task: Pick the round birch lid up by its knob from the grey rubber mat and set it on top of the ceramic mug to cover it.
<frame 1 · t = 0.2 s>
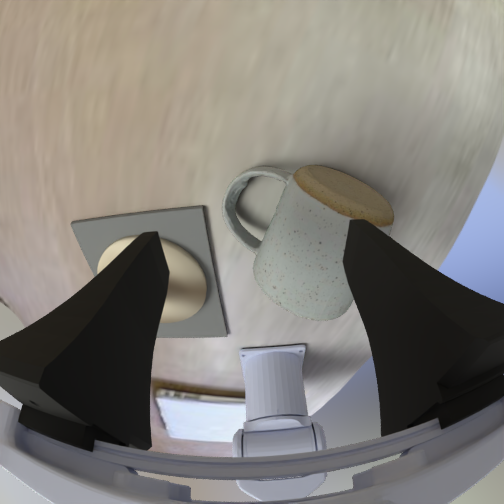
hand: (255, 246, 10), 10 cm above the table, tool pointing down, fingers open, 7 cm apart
lid: (151, 281, 24), resting on mat
mat: (155, 286, 25), on the table
ceramic mug: (294, 208, 21), on the table
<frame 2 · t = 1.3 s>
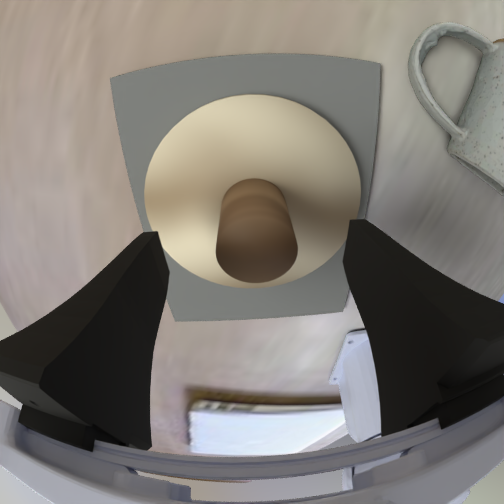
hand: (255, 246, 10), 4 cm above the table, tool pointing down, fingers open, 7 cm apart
lid: (253, 200, 13), resting on mat
mat: (253, 214, 14), on the table
ceramic mug: (468, 102, 10), on the table
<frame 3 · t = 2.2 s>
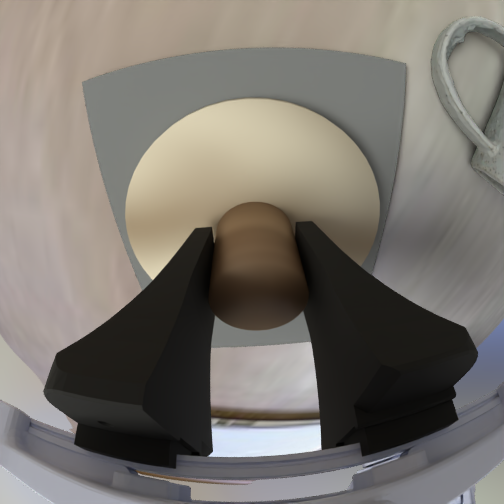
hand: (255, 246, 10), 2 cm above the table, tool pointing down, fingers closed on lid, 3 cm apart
lid: (253, 224, 12), resting on mat, touching gripper
mat: (254, 238, 12), on the table
ceramic mug: (492, 108, 8), on the table
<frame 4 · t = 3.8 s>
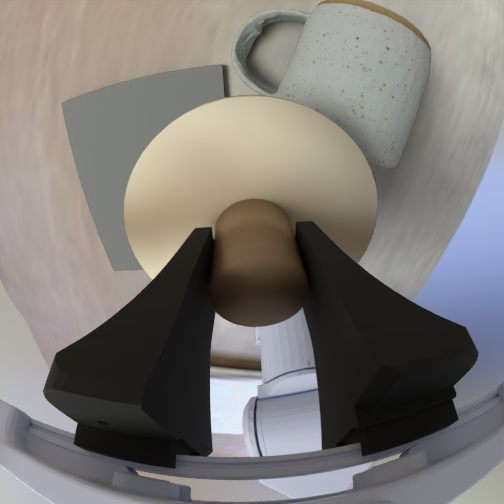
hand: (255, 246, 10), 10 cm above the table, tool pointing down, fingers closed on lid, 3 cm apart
lid: (252, 221, 12), point 9 cm above the table, touching gripper
mat: (151, 183, 19), on the table
ceramic mug: (315, 72, 15), on the table
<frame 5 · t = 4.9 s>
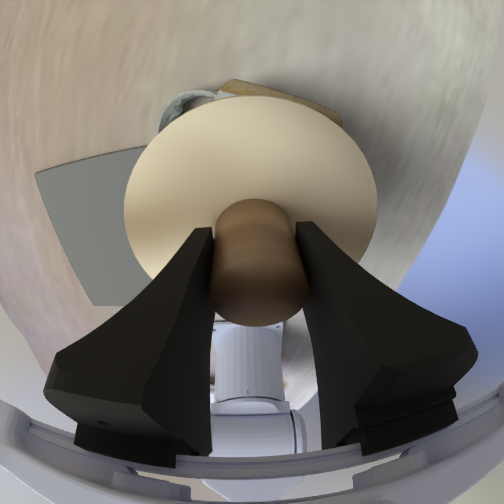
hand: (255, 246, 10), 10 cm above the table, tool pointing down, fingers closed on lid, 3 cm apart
lid: (252, 221, 12), point 9 cm above the table, touching gripper
mat: (114, 241, 23), on the table
ceramic mug: (239, 140, 18), on the table
when the fingers open (10 cm above the table, at t = 5.5 s): lid drops 1 cm, resting on ceramic mug.
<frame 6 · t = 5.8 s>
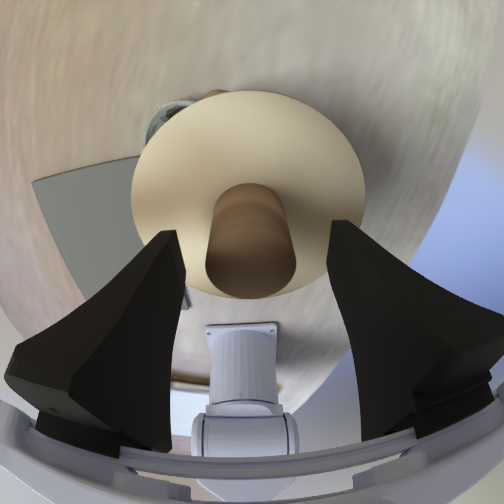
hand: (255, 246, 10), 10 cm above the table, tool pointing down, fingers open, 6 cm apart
lid: (248, 206, 12), point 8 cm above the table, touching ceramic mug
mat: (110, 248, 23), on the table
ceramic mug: (225, 148, 18), on the table, touching lid
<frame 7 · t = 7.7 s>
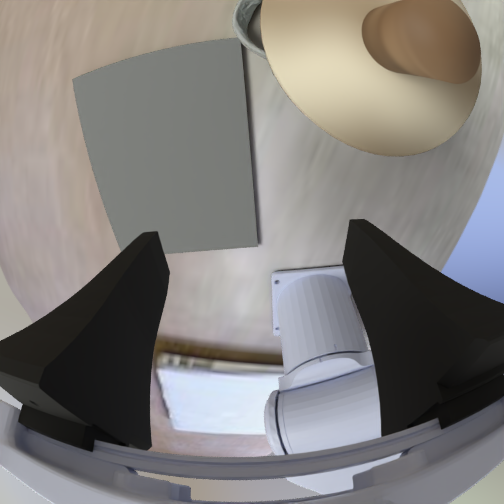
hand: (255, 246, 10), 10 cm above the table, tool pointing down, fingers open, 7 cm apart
lid: (386, 39, 8), point 8 cm above the table, touching ceramic mug
mat: (166, 159, 18), on the table
ceramic mug: (316, 39, 14), on the table, touching lid
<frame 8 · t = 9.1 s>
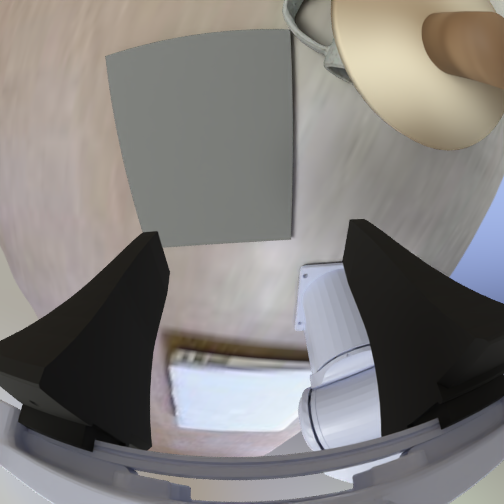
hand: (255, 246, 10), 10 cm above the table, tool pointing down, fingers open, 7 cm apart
lid: (437, 43, 7), point 8 cm above the table, touching ceramic mug
mat: (204, 146, 18), on the table
ceramic mug: (358, 37, 13), on the table, touching lid
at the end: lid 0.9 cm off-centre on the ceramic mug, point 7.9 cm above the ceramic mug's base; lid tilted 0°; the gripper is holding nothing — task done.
